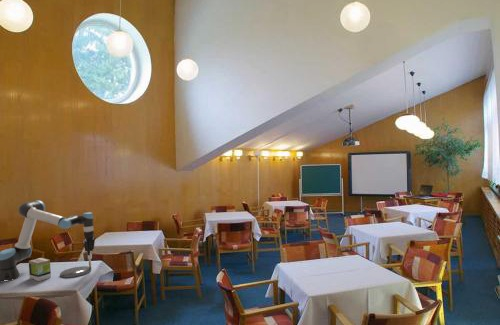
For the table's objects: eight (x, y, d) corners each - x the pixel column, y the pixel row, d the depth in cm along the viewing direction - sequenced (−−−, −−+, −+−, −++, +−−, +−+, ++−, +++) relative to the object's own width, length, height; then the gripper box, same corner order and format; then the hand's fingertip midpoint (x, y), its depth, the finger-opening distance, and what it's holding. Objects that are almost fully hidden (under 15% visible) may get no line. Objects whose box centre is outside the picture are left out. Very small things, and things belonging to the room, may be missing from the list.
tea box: (51, 277, 266) (50, 259, 266) (38, 281, 258) (37, 263, 257) (42, 274, 274) (41, 257, 274) (29, 278, 266) (27, 260, 265)
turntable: (57, 279, 259) (56, 263, 259) (63, 270, 281) (62, 255, 280) (89, 274, 267) (88, 258, 267) (92, 266, 289) (91, 251, 288)
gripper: (86, 233, 268) (88, 261, 268) (97, 229, 280) (99, 256, 281) (79, 232, 270) (80, 260, 270) (90, 229, 282) (91, 256, 283)
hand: (90, 258), depth 276 cm, fingers closed
